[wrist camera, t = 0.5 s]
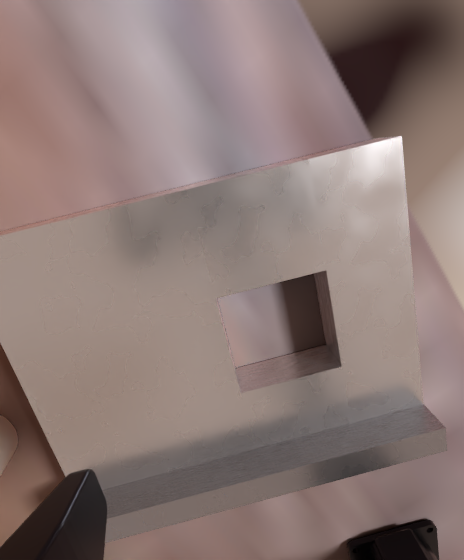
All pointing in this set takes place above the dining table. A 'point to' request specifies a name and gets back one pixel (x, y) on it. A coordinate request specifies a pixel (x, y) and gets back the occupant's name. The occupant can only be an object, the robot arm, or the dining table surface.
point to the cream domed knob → (7, 442)
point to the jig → (221, 336)
